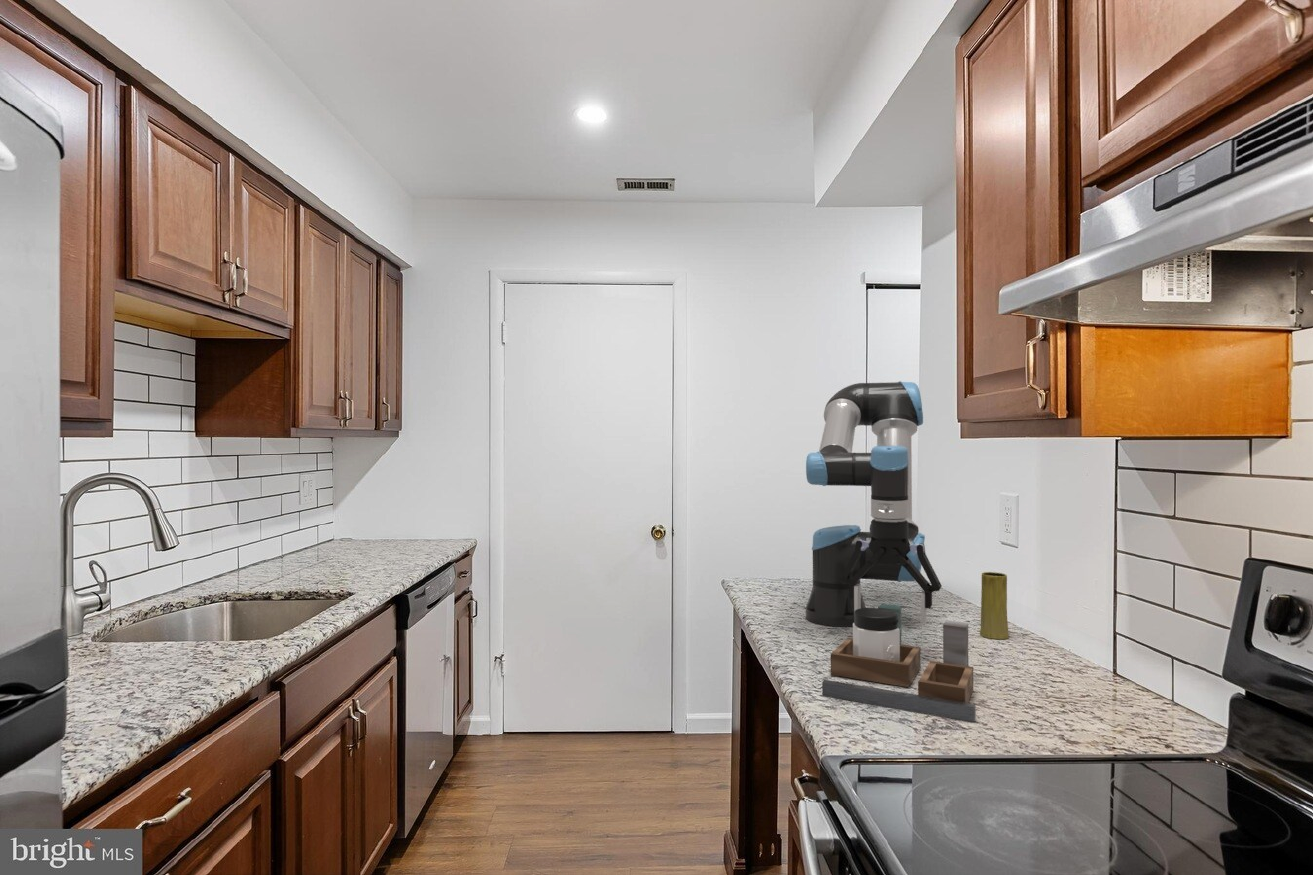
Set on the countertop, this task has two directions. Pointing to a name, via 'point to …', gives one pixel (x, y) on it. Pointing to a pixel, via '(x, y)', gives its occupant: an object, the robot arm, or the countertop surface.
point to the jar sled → (877, 661)
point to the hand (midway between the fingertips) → (889, 619)
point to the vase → (994, 606)
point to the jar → (876, 634)
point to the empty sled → (950, 667)
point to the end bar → (900, 700)
